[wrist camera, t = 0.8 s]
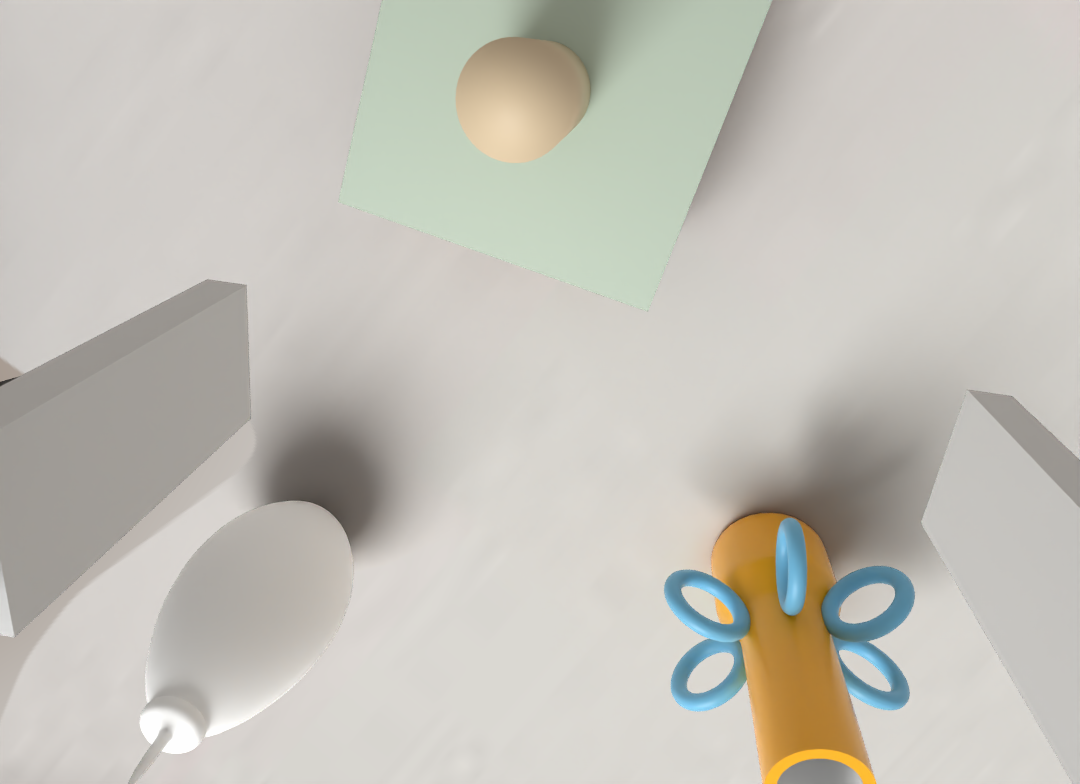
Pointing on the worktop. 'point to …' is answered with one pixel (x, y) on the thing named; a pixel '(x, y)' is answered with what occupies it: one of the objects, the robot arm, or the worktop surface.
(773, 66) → the worktop surface
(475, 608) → the worktop surface
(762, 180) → the worktop surface
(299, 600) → the sauce bottle
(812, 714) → the cylinder
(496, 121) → the lid
